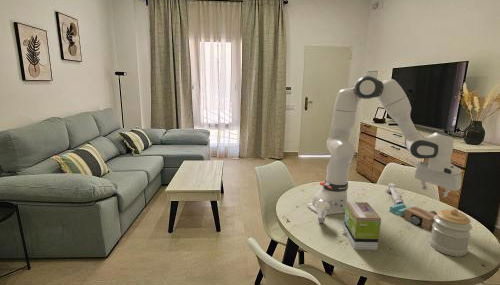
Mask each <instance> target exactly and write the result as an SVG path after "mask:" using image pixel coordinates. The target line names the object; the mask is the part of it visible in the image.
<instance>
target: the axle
mask: <svg viewBox="0 0 500 285" xmlns="http://www.w3.org/2000/svg"><path fill="white" fill-rule="evenodd" d="M429 212H430V213H433V214H435V215H437V212H436V210H431V211H429ZM422 220H423V218H421V217H418V216H414V217H411V218H410V224H412V225H413V226H418V225H422Z"/></svg>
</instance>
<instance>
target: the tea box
mask: <svg viewBox="0 0 500 285" xmlns="http://www.w3.org/2000/svg"><path fill="white" fill-rule="evenodd" d="M381 223H382V217H381V216H380V215H379V214H378V213H377V212H376V211H375V209H374V208H373V207H372V206H371V205H370V204H369V203H368V202H365V201H364V202H362V201H360V202H357V201H356V202H354V201H351V202H349V201H347V202H346V210H345V213H344V225H343V231H344V234H345V235H346V237H347V239H348V241H349V242H350V245H351V246H352V248H353V250H366V251H367V250H368V251H377V250H378V247H379V239H380V238H379V237H380V229H381Z"/></svg>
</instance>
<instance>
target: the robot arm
mask: <svg viewBox="0 0 500 285" xmlns="http://www.w3.org/2000/svg"><path fill="white" fill-rule="evenodd" d="M373 98H377V99H378V100H379V102H380V104H381V105H382V107H383V109H384V111H385V112H386V114H388V116H389V117H390V118H391V119H392V120H394V121H395V122H396V124H397V126H398V128H399V129H400V131H401V133H402V134H403V136H404V145H405V148H406V150H407V151H408V152H409V153H410V154H411V155H412V156H413V157H414V158H417V159H428V161H427V162H425V161H418V162H417V163H416V169H415V171H414V179H416V180H419V181H420V184H421V186H422V190H424V191H427V190H428V186H427V185H426V183H429V184H432V185H434V186H438V187H441V188H444V190H445V191H444V192H442V193H441V196H442V197H444V198H446V197H448V194H449V193H450V192H452V191H455V192H456V191H460V189H461V187H462V175H461V174H462V169H461V168H460V167H458V166H455V165H454V164H452V163H451V162H452V158H451V156H452V154H453V153H454V152H453V151H454V138H453V136H452V135H450V134H449V133H446V132H441V131H440V132H439V131H436V132H434V133H432V134H430V135H429V134H428V135H425V136H424V135H422V134H420V133H419V131H418V130H417V128H416V127H415V124H414V122H413V121H412V118H411V112H412V106H411V103H410V99H409V98H408V96H407V93H406V92H405V90H404V89H403V88H402V86H401V85H400V84H399V83H398V82H397V80H395V79H393V78H390V79H385V80H383V81H381V80H379V79H377V78H376V77H374V76H372V75H371V76H370V75H363V76H361V77H359V78H358V79H357V80H355V83H354V84H353V85H352V86H351V87H349V88H343V89H339V91H338V92H337V95H336V98H335V102H334V106H333V107H334V108H333V114H332V121H331V126H330V130H329V133H328V137H327V139H326V148H327V150H328V151H329V152H330V158H329V162H328V164H327V167H326V177H325V178H326V179H325V181H320V182H319V186H322V187H321V188H320V189H319V190H318V191H317V192H315V194H314V195H313V196H312V200H311V202H308V203H307V207H308V209H310V210H311V211H312V212H315V213H316V214H317V211H316V209H315V204H316V202H317V201H318V200H320V199H324V200H326V201H327V202H328V203H329V205H330V209H329V212H328V213H327V214H326V216H330V215H336V214H345V210H346V202H348V188H349V182H348V181H349V180H348V179H349V169H350V166H351V162H352V160H353V158H354V156H355V155H356V148H355V146H354V144H353V143H352V141H351V140H350V136H351V133H352V130H353V129H354V127H355V122H356V115H357V109H358V104H359V102H360V100H362V99H363V100H369V99H373ZM451 190H452V191H451Z"/></svg>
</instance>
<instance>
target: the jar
mask: <svg viewBox="0 0 500 285" xmlns="http://www.w3.org/2000/svg"><path fill="white" fill-rule="evenodd" d="M436 213H437V215H436V216H434V221H435V222H434V223H433V225H432V226H433V227H432V229H431V233H430V234H431V235H430V236H429V243H430V246H431V247H432V248H433V249H434V250H436V251H438V252H440V253H442V254H444V255H448V256H452V257H464V256H466V254H467V252H468V250H469V248H468V247H469V242H470V237H471V235H472V234H471V232H470V231H472V230H473V226H472V224H471V221H472V220H471V219H470V218H469V217H467V216H466V214H465V213H462V212H459V210H458V209H457V208H451V209H442V210H439V211H437V212H436Z"/></svg>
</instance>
